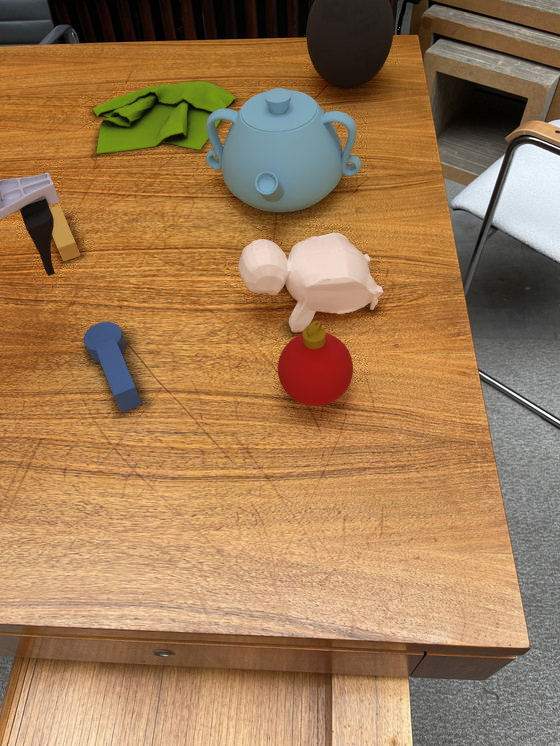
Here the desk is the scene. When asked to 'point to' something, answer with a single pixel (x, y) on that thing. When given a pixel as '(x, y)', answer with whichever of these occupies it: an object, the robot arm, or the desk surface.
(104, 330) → the blue long-handled part
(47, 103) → the desk surface
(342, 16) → the decorative egg
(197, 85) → the cloth
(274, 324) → the desk surface
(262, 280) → the white animal figurine
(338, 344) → the christmas ornament
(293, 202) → the teapot
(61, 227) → the block
